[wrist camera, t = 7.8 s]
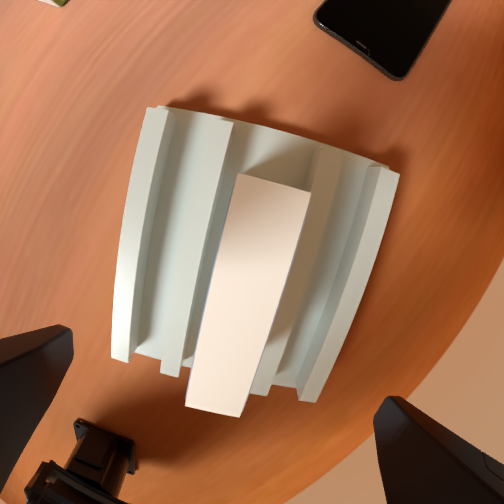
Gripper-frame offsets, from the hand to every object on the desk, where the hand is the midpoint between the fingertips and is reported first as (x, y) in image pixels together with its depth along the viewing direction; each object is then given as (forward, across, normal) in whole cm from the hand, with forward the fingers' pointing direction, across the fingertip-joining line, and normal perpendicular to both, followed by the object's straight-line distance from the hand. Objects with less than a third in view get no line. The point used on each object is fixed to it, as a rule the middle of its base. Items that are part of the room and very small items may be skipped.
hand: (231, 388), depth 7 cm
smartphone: (+12, -6, -22) cm, 26 cm away
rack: (+12, 0, 0) cm, 12 cm away
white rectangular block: (+11, 0, 0) cm, 11 cm away
